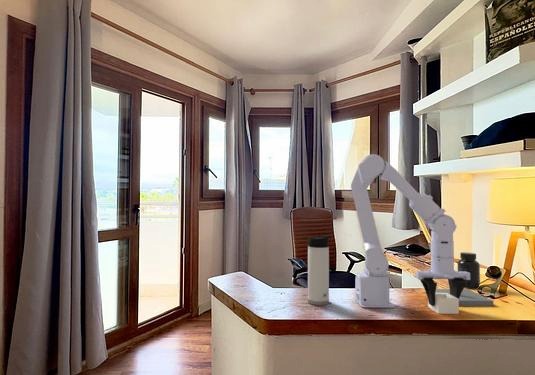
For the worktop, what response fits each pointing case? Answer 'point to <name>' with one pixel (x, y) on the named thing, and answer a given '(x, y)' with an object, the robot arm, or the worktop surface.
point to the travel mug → (318, 270)
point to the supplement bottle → (470, 269)
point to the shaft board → (469, 298)
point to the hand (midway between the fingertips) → (442, 305)
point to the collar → (445, 304)
